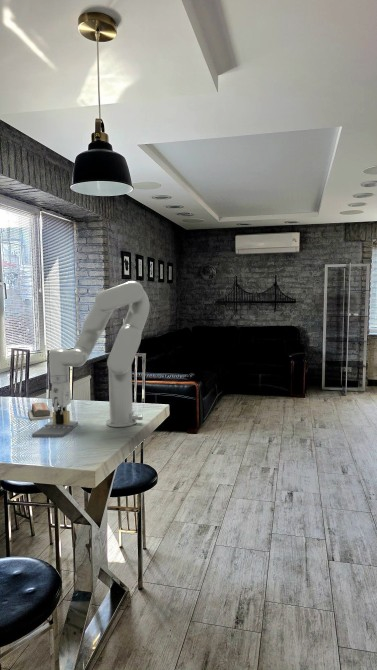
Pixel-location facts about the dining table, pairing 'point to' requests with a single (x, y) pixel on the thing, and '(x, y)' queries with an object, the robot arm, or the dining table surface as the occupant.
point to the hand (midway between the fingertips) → (61, 422)
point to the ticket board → (52, 432)
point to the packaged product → (40, 412)
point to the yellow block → (66, 421)
